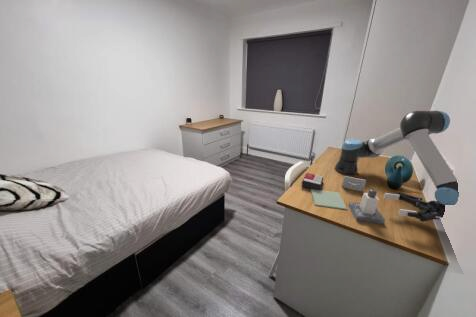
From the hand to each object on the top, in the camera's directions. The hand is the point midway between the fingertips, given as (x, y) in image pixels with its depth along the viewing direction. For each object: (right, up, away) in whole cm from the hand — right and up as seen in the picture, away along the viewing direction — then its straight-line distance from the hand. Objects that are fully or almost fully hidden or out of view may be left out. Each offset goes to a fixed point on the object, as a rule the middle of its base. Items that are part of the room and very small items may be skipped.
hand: (391, 203), depth 95 cm
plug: (-10, -7, +5) cm, 13 cm away
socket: (-10, -7, +5) cm, 13 cm away
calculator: (-26, +5, +32) cm, 42 cm away
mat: (-23, -1, +17) cm, 29 cm away
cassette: (-2, +2, +28) cm, 29 cm away
